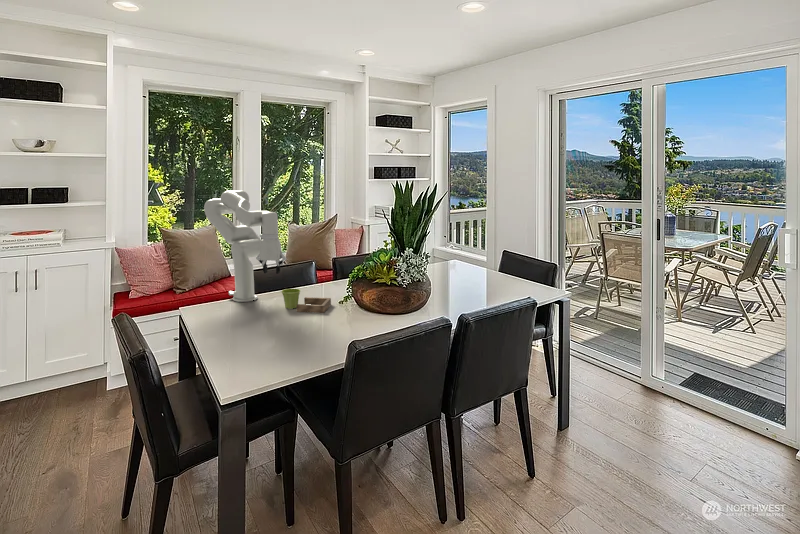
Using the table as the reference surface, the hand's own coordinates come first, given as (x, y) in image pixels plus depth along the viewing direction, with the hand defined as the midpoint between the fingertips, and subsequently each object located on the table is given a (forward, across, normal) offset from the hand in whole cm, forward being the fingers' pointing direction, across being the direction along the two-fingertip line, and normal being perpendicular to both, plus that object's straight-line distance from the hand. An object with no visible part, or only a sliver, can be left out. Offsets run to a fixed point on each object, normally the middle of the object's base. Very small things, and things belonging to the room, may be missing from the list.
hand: (271, 272), depth 241 cm
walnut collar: (+18, +20, 0) cm, 27 cm away
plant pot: (+18, +10, 0) cm, 20 cm away
